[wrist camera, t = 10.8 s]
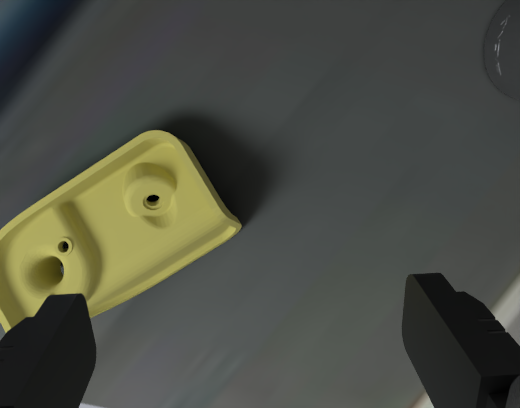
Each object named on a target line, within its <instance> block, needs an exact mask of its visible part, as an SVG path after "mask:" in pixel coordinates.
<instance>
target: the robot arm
mask: <svg viewBox="0 0 520 408" xmlns="http://www.w3.org/2000/svg"><path fill="white" fill-rule="evenodd" d="M484 60H485V66H486V70H487V72H488V75H489V77H490V79H491V81H492V82H493V83H494V85H495V86H496V87H497V88H498V89H499V90H500V91H502V92H503V93H504V94H505V95H508V96H510V97H512V98H515V99H518V100H520V0H507V1H506V2H505V3H504V4H503V5H502V6H501V7H500V9H499V10H498V12H497V13H496V15H495V16H494V18H493V20H492V22H491V24H490V27H489V29H488V31H487V36H486V40H485V44H484ZM402 337H403V342H404V346H405V349H406V352H407V354H408V356H409V358H410V360H411V362H412V364H413V366H414V368H415V370H416V372H417V374H418V376H419V378H420V380H421V382H422V384H423V386H424V388H425V390H426V392H427V394H428V396H429V398H430V400H431V402H432V404H433V406H434V408H520V346H519V345H518V344H517V343H516V341H515V340H514V339H513V338H512V337H511V335H510V334H509V333H508V332H507V333H506V332H505V328H504V327H503V326H502V325H501V324H500V323H499V321H498V320H495V317H494V316H493V314H492V313H491V312H490V311H489V310H488V308H487V307H486V306H485V305H484V304H483V303H482V302H480V301H479V300H477V299H476V298H474V297H472V296H471V295H469V294H467V293H466V292H464V291H463V292H456V291H455V290H454V289H453V287H452V286H451V285H450V284H449V282H448V281H447V280H446V279H445V277H444V276H443V275H442V274H441V273H426V274H410V275H408V277H407V280H406V286H405V297H404V308H403V319H402ZM95 363H96V344H95V339H94V334H93V330H92V325H91V321H90V316H89V311H88V307H87V302H86V299H85V297H84V295H83V294H82V293H75V294H58V295H49V296H48V297H47V298H46V299H45V301H44V302H43V304H42V305H41V307H40V308H39V310H38V311H37V313H36V314H35V316H34V317H26V318H24V319H23V320H22V321H20V322H19V323H18V324H16V325H15V326H14V327H12V328H11V329H10V330H8V331H7V333H6V334H5V335H4V337H3V338H2V340H1V341H0V408H79V405H80V403H81V400H82V398H83V396H84V393H85V391H86V388H87V386H88V383H89V381H90V378H91V376H92V373H93V371H94V367H95Z"/></svg>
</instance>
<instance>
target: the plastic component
mask: <svg viewBox="0 0 520 408" xmlns="http://www.w3.org/2000/svg"><path fill="white" fill-rule="evenodd" d="M150 195H157V196H159V199H158V200H157V201H155V202H149V201H148V200H146V199H147V198H148V196H150ZM241 227H242V225H241V223H240V222H239V220H238V218H237V217H235V216H234V215H232V214H231V213H230V212H229V210H228V209H227V208H226V206H225V205H224V203H223V202H222V200H221V199H220V197H219V195H218V194H217V192H216V190H215V189H214V187H213V185H212V184H211V182H210V180H209V179H208V177H207V175H206V174H205V172H204V170H203V169H202V167H201V165H200V164H199V162H198V160H197V159H196V157H195V155H194V154H193V152H192V150H191V149H190V147H189V146H188V145H187V144H186V143H185V142H183V141H182V140H180V139H178V138H177V137H175V136H173V135H171V134H170V133H168V132H164V131H161V130H152V131H147V132H145V133H142V134H140V135H139V136H137V137H136V138H134V139H133V140H131V141H130V142H128V143H126V144H125V145H123V146H122V147H120V148H119V149H117V150H116V151H114V152H113V153H111V154H110V155H108V156H107V157H105V158H104V159H102V160H101V161H99V162H98V163H96V164H94V165H93V166H91V167H90V168H88V169H87V170H85V171H84V172H82V173H81V174H79V175H78V176H76V177H75V178H73V179H72V180H70V181H69V182H67V183H66V184H64V185H63V186H61V187H59V188H58V189H56V190H55V191H53V192H52V193H50V194H49V195H47V196H46V197H44V198H43V199H41V200H40V201H38V202H37V203H35V204H34V205H32V206H31V207H29V208H28V209H26V210H25V211H24V212H22V213H21V214H19V215H18V216H16V217H15V218H14V219H13V220H11V221H10V222H9V223H8V224H7V225H5V226H4V227H3V228H2V229H1V230H0V323H1V324H2V326H3V328H4V330H5V332H6V333H7V331H8V330H10V329H11V328H12V327H14V326H15V325H16V324H18V323H19V322H20V321H22V320H23V319H24V318H26V317H34V316H35V314H36V313H37V311H38V310H39V308H40V307H41V305H42V304H43V302H44V301H45V299H46V298H47V297H48V296H49V295H58V294H75V293H82V294H83V295H84V297H85V299H86V302H87V307H88V311H89V316H90V318H91V317H94V316H96V315H98V314H100V313H102V312H104V311H107V310H109V309H111V308H113V307H115V306H117V305H119V304H121V303H123V302H125V301H127V300H129V299H131V298H132V297H134V296H136V295H138V294H140V293H142V292H144V291H145V290H147V289H149V288H151V287H152V286H154V285H156V284H158V283H159V282H161V281H163V280H164V279H166V278H168V277H169V276H171V275H172V274H174V273H176V272H177V271H179V270H180V269H182V268H184V267H185V266H187V265H189V264H190V263H192V262H193V261H195V260H197V259H198V258H200V257H202V256H203V255H205V254H206V253H208V252H210V251H211V250H213V249H215V248H216V247H218V246H219V245H221V244H223V243H224V242H226V241H227V240H229V239H230V238H232V237H233V236H234V235H235V234H236V233H237V232H238V231H239V230H240V229H241ZM65 241H66V242H67V243H68V245H69V248H67V249H63V248H62V246H63V243H64V242H65ZM61 262H62V263H63V266H64V276H63V274H62V272H61V267H60V265H61Z"/></svg>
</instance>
